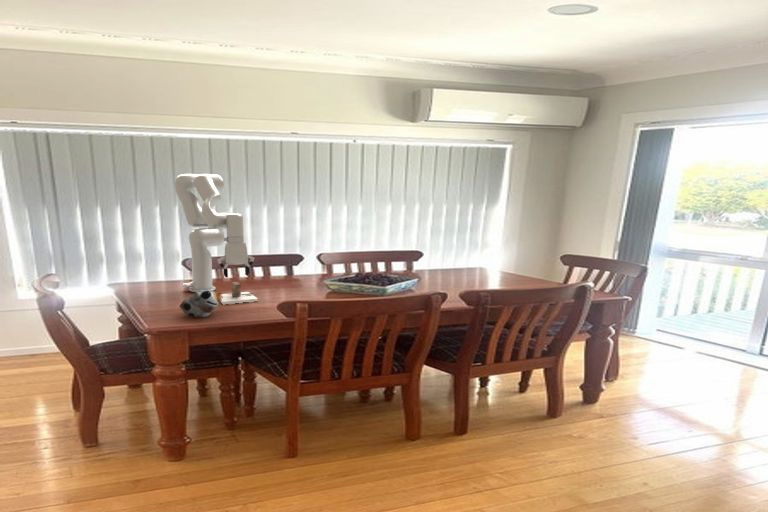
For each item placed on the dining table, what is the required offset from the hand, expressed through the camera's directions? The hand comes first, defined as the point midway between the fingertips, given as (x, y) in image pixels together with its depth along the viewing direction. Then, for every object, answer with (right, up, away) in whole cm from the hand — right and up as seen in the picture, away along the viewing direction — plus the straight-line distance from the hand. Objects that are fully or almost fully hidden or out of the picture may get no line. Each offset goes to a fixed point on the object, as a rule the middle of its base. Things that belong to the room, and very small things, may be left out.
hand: (236, 276), depth 240 cm
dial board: (-1, -11, +2) cm, 12 cm away
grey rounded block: (-7, -16, -26) cm, 31 cm away
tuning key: (+2, -9, +3) cm, 10 cm away
